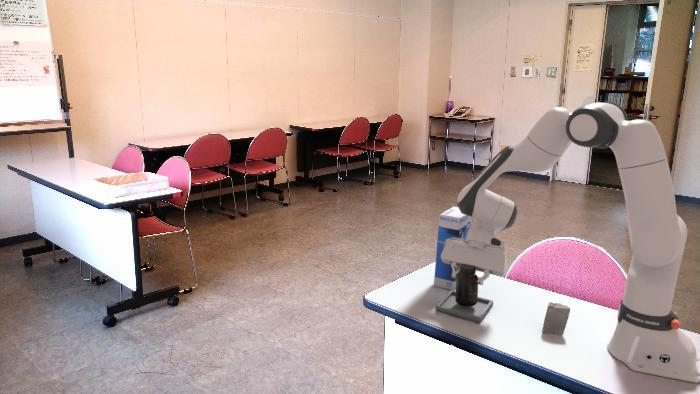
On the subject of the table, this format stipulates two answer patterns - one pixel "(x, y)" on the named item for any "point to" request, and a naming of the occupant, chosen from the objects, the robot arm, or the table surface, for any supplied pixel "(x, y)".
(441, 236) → the string lights box
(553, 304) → the mineral specimen
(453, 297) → the tray
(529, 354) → the table surface
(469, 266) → the supplement bottle
